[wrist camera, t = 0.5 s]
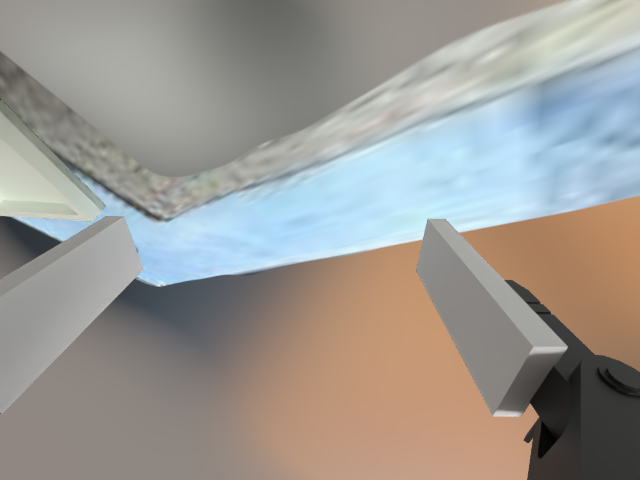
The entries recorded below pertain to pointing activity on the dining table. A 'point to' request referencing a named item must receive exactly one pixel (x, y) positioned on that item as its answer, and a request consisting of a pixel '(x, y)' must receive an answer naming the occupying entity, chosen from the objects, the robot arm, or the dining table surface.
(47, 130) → the dining table surface
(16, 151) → the tray
